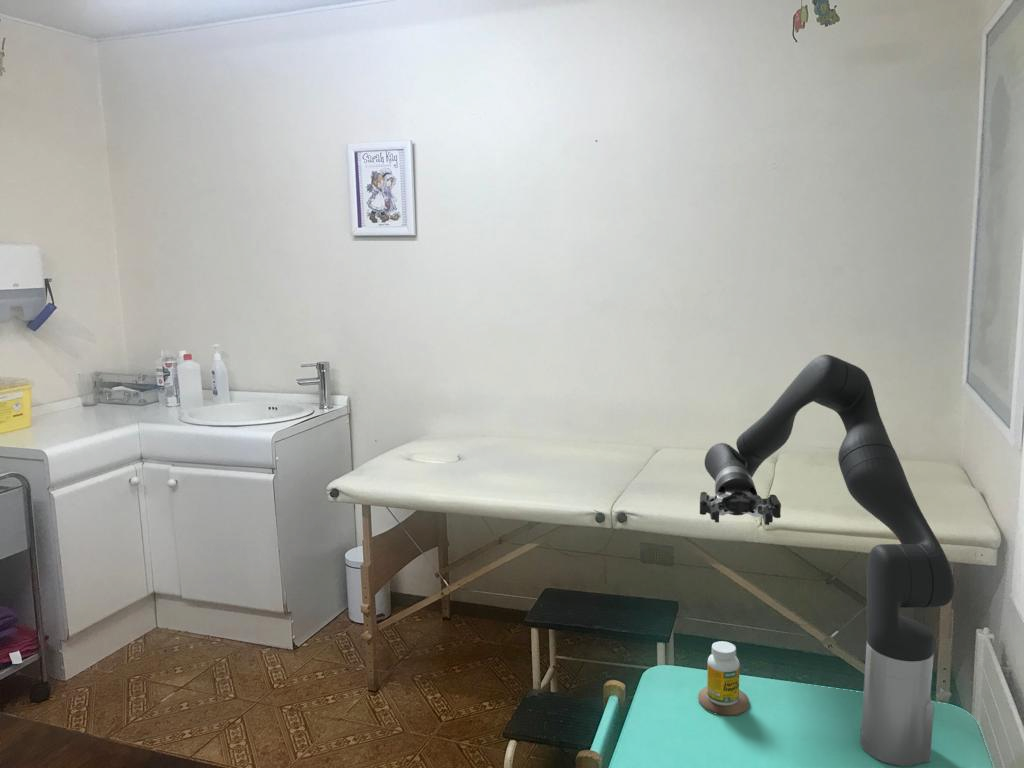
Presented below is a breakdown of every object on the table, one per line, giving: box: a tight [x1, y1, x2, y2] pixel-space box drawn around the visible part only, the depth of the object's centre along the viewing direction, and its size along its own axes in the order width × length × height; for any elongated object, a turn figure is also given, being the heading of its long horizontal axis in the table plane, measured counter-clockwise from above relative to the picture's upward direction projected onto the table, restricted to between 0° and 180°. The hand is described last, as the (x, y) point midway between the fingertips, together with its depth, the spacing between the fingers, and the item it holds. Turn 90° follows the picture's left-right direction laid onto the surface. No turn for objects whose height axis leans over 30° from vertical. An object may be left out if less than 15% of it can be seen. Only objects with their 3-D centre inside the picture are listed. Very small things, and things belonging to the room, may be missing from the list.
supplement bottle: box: [706, 640, 741, 706], centre depth 139 cm, size 5×5×10 cm
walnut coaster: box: [697, 686, 750, 717], centre depth 140 cm, size 8×8×1 cm
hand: (742, 518), depth 143 cm, fingers open, 8 cm apart
